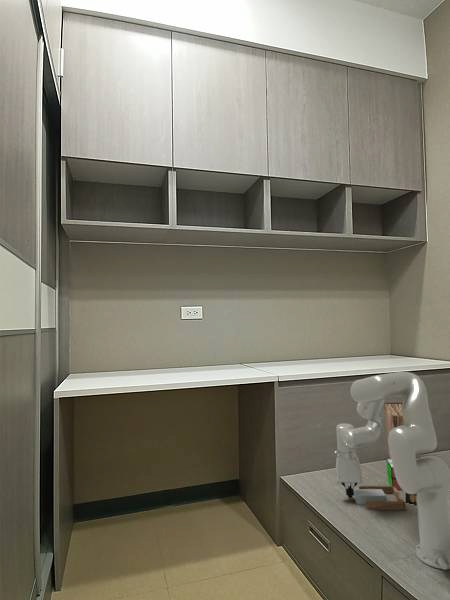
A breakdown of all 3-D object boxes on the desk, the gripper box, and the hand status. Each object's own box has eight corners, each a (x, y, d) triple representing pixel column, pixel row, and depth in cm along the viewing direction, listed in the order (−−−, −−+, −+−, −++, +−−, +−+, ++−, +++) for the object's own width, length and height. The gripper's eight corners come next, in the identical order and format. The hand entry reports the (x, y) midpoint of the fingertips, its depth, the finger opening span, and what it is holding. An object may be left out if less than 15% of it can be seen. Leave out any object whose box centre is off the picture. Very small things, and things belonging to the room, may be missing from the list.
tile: (386, 504, 156) (385, 495, 157) (371, 504, 157) (370, 495, 157) (382, 497, 162) (381, 489, 163) (368, 497, 163) (367, 489, 163)
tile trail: (371, 504, 157) (371, 495, 157) (356, 504, 158) (356, 495, 158) (368, 497, 163) (367, 489, 163) (353, 497, 164) (353, 489, 164)
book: (418, 479, 177) (413, 414, 179) (397, 478, 180) (392, 414, 181) (406, 458, 202) (402, 402, 204) (388, 458, 204) (383, 402, 206)
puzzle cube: (416, 490, 166) (415, 467, 167) (392, 490, 168) (390, 467, 169) (410, 481, 176) (408, 459, 177) (387, 480, 178) (386, 459, 179)
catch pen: (405, 510, 151) (405, 502, 151) (366, 509, 153) (366, 501, 153) (395, 492, 166) (394, 485, 166) (359, 492, 168) (359, 485, 168)
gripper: (330, 457, 160) (333, 501, 159) (366, 456, 157) (370, 501, 157) (328, 450, 167) (331, 492, 166) (363, 450, 165) (366, 493, 164)
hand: (350, 496), depth 161 cm, fingers closed
